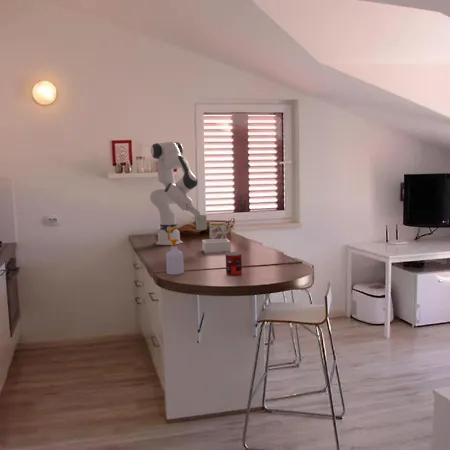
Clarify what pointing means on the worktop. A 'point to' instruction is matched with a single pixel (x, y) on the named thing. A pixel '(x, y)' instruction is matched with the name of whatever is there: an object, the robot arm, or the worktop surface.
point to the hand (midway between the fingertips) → (202, 218)
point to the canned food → (233, 264)
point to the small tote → (201, 223)
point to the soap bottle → (174, 257)
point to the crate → (216, 246)
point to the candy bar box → (217, 230)
